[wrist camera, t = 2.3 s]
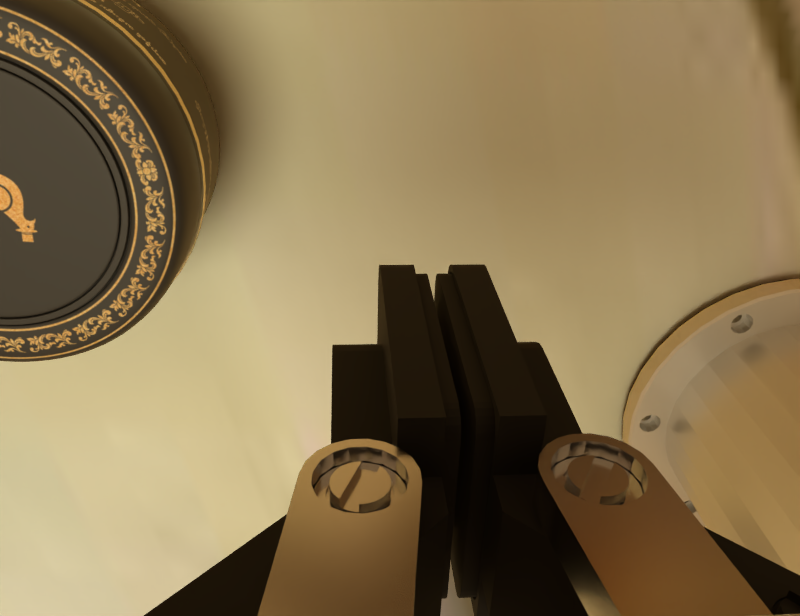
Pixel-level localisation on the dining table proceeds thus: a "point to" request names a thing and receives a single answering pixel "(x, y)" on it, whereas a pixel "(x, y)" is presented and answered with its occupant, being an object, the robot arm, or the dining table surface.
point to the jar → (95, 171)
